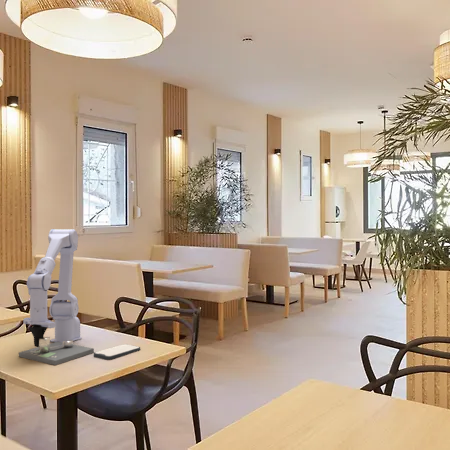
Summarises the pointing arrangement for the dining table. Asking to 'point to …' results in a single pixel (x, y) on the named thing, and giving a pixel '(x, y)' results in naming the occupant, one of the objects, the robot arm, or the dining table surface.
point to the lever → (45, 345)
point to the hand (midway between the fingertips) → (38, 346)
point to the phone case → (116, 352)
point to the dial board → (57, 354)
